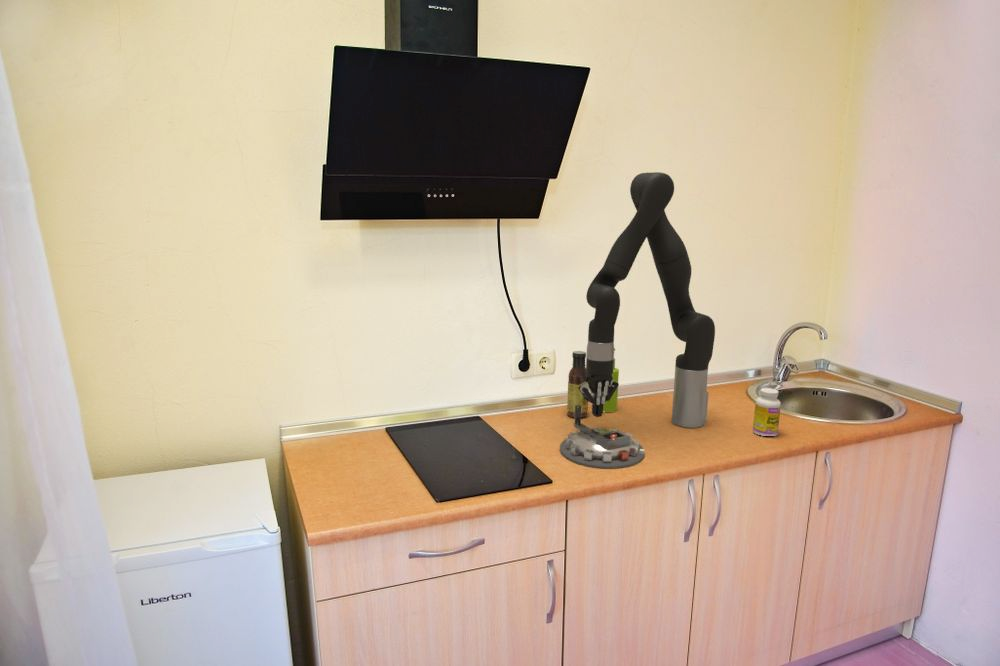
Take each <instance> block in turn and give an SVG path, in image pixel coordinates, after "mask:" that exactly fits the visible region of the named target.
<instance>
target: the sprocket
mask: <svg viewBox="0 0 1000 666" xmlns="http://www.w3.org/2000/svg"><path fill="white" fill-rule="evenodd" d="M581 419H582V418H581V406H580V405H576V406H575V418H574V423H573V427H574V428H576V429H577V432H573V431H571V432H570V433H568V434H567V438H565V439H566V448H569V449H571V453H572V454H573V455H579V454H580V455H582V456H584V459H587V460H591V461H592V460H593V459H602V460H603V462H611V460H612V459H620V460H621V461H624V460H628V457H629V455H632V456H636V455H637V454H638V447H639V444H640V441H639V439H638V438H637V439H636V438H633V434H631V433H629V432H625V433H624V432H623V433H624V434H626V435H628V436H630V446H626V447H622V448H617V449H613V450H606V449H604V448H602V447H601V446H599V445H597V444H596V435H598V434H603V433H607V432H612V431H617V430H618V431H620V430H619V429H615V428H610V430H609V429H602V427H599V426H596V427H593V428H591V427H588V426H587V425H585V424H583V423H582V421H581ZM613 438H617V435H616V434H611V435H610V439H613Z"/></svg>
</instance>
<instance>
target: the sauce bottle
mask: <svg viewBox="0 0 1000 666" xmlns="http://www.w3.org/2000/svg"><path fill="white" fill-rule="evenodd" d="M571 355H572V367H571V369H570V370H569V372H568V382H567V401H566V402H567V405H566V406H567V415H568V416H569V417H571V418H573V417H574V419H575V406H576V405H580V406H581V419H582V417H583V418H585V417H587V416H588V410H589V402H588V401H587V400H586V399H585V398H584V396H583V395H582V393H581V392H580V391H579V389H578V387H579V386H583V385H584V384H585V383H586V382H585V380H586V377H587V373H586V356H587V351H582V350H574V351H572V354H571Z"/></svg>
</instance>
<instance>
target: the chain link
mask: <svg viewBox="0 0 1000 666" xmlns="http://www.w3.org/2000/svg"><path fill="white" fill-rule="evenodd" d="M616 430H617V431H612V432H607V433H603V434H598V435H596V444H597V445H599V446H601V447H602V448H604V449H606V450H613V449H617V448H622V447H626V446H630V436H628V435H626V434H624V432H622V431H620V430H619V429H616ZM618 430H619V431H618ZM611 434H616V435H617V438H613V439H610V435H611Z"/></svg>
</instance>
